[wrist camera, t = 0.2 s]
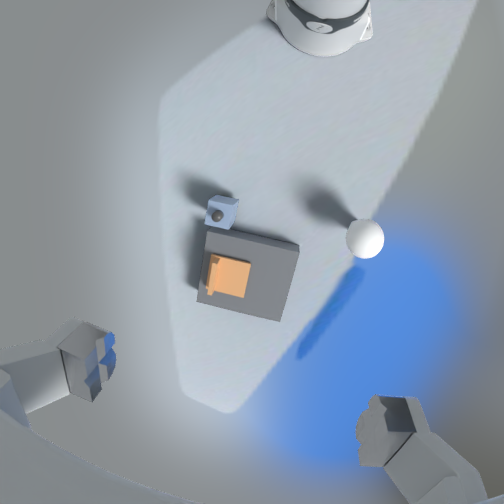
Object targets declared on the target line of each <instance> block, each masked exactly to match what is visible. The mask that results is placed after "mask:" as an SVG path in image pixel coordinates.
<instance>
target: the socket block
mask: <svg viewBox="0 0 504 504" xmlns="http://www.w3.org/2000/svg"><path fill="white" fill-rule="evenodd" d="M299 253H300V252H299V245H295V244H291V243H287V242H283V241H279V240H274V239H270V238H266V237H262V236H257V235H253V234H249V233H244V232H240V231H236V230H231V229H229V230H227V229H223V228H219V227H214V226H212V227H211V228H210V229H209V230H208V231H207V236H206V242H205V248H204V255H203V261H202V268H201V274H200V281H199V288H198V295H197V302H200V303H204V304H208V305H212V306H216V307H220V308H224V309H228V310H232V311H236V312H240V313H244V314H248V315H252V316H256V317H261V318H265V319H269V320H274V321H278V322H280V320H281V316H282V313H283V310H284V306H285V303H286V299H287V296H288V292H289V289H290V285H291V282H292V278H293V275H294V271H295V267H296V264H297V260H298V256H299ZM211 254H216V255H220V256H224V257H228V258H232V259H236V260H241V261H245V262H249V263H251V267H250V272H249V276H248V281H247V285H246V290H245V294H244V298H242V297H238V296H234V295H230V294H226V293H222V292H218V291H214V292H213V294H212V296H211V295H207V293H208V289H206V283H207V277H208V270H209V264H210V258H211Z"/></svg>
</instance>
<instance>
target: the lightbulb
mask: <svg viewBox="0 0 504 504" xmlns="http://www.w3.org/2000/svg"><path fill="white" fill-rule="evenodd" d="M346 244H347V247H348V249H349V250H350V252H351V253H352V254H354V255H355V256H357V257H359V258H371V257H373V256H375V255H377V254H378V253H379V252H380V250H381V249H382V247H383V244H384V235H383V231H382V229H381V227H380V226H379V225H378V224H377V223H376V222H374V221H372V220H369V219H360V220H354V221H352V222H351V224H350V227H349V229H348V230H347V233H346Z"/></svg>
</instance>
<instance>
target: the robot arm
mask: <svg viewBox="0 0 504 504" xmlns="http://www.w3.org/2000/svg"><path fill="white" fill-rule="evenodd" d="M274 7H275V9H274ZM266 14H267V16H268V17H269V18H270V19H271V20H272V21H273V22H275V23H276V24H277V25H278V26H279V28H280V30H281V32H282V34H283V36H284V37H285V38H286V40H287V41H288V42H289V43H290V44H291V45H293V46H294V47H295V48H297V49H299V50H300V51H302V52H305V53H307V54H310V55H315V56H325V57H326V56H335V55H338V54H341V53H344V52H345V51H347V50H349V49H350V48H351V47H352V46H354V45H355V44H357V43H360V42H364V41H368V40H370V39H371V37H372V34H373V33H372V21H371V10H370V1H369V0H272V1H271V3H270V5H269V7H268V9H267V13H266ZM366 29H367V30H366ZM114 344H115V337H114V334H113V333H112V332H110V331H108V330H105V329H102V328H100V327H98V326H96V325H93V324H90V323H88V322H85V321H83V320H80V319H78V318H76V317H71V318H69V319H68V320H67V321H66V322H65V323H64V324H63V325H61V326H60V327H59V328H58V329H57V330H56V331H55V332H54V333H53V334H52V335H50V336H49V337H48V338H47V339H46V340H45V341H42V340H37V341H33V342H29V343H25V344H21V345H16V346H12V347H8V348H3V349H0V504H203V503H199V502H196V501H192V500H188V499H184V498H181V497H178V496H175V495H171V494H168V493H165V492H162V491H159V490H156V489H153V488H150V487H147V486H144V485H141V484H139V483H136V482H134V481H131V480H129V479H126V478H124V477H121V476H118V475H116V474H114V473H111V472H109V471H107V470H105V469H103V468H100V467H98V466H96V465H94V464H92V463H90V462H87V461H86V460H84V459H82V458H80V457H78V456H76V455H74V454H72V453H70V452H68V451H66V450H64V449H63V448H61V447H59V446H57V445H55V444H54V443H52V442H50V441H48V440H47V439H45V438H44V437H42V436H40V435H38V434H37V433H35V432H34V431H32V428H31V424H30V422H29V420H28V418H27V416H26V414H27V413H29V412H31V411H34V410H36V409H38V408H40V407H42V406H45V405H47V404H49V403H51V402H54V401H55V400H58V399H60V398H62V397H64V396H67V395H69V394H70V393H72V394H74V395H76V396H78V397H81V398H83V399H85V400H88V401H90V402H93V401H94V399H95V398H96V397H97V395H98V394H99V392H100V391H101V390H102V387H101V383H102V382H105V381H107V380H109V378H110V377H111V375H112V374H113V371H114V368H115V364H116V354H115V352H114V351H113V349H112V346H113V345H114ZM368 404H369V409H367V410H365V411H363V412H362V414H361V415H360V417H359V419H358V422H357V425H356V439H357V440H358V441H359V442H360V443H361V446H360V448H359V449H358V453H359V460H360V466H372V467H384V470H385V471H386V472H387V474H388V475H389V476H390V478H391V479H392V480H393V482H394V483H395V485H396V486H397V487H398V488H399V490H400V491H401V493H402V494H403V495H404V497H405V498H406V499H407V501H408V502H409V503H410V504H504V494H503V495H500V496H497V497H494V498H491V499H488V497H487V494H486V491H485V488H484V485H483V482H482V480H481V477H480V474H479V471H478V470H477V469H475V468H474V467H473V466H472V465H471V464H470V463H468V462H467V461H466V460H465V459H464V458H463V457H461V456H460V455H459V454H458V453H457V452H456V451H455V450H454V449H452V448H451V447H450V446H449V445H448V444H447V443H445V442H444V441H443V440H442V439H441V438H440V437H439V436H438V435H436V434H435V433H431V432H430V429H429V426H428V423H427V421H426V418H425V415H424V413H423V410H422V408H421V405H420V402H419V400H418V399H417V398H416V397H399V396H387V395H376V394H375V395H374V396H373V397H372V398H371V399H370V401H369V402H368Z"/></svg>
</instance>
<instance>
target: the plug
mask: <svg viewBox="0 0 504 504" xmlns="http://www.w3.org/2000/svg"><path fill="white" fill-rule="evenodd" d="M238 202H239V199H235V198H230V197H225V196H221V195H215V196H214V197H212V198H211V199H209V201H208V207H207V212H206V218H205V224H206V225H210V226H214V227H219V228H223V229H227V230H229V229H230V227H231V226H232V225H233V223H234V222H235V218H236V213H237V207H238Z"/></svg>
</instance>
